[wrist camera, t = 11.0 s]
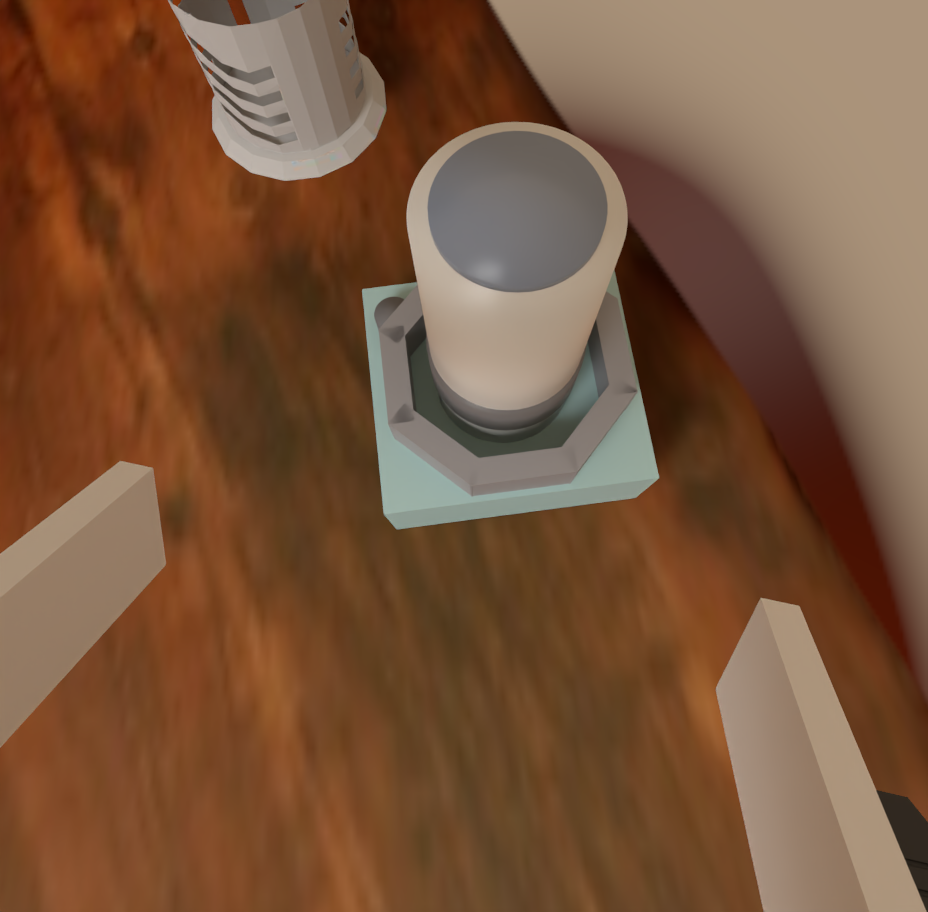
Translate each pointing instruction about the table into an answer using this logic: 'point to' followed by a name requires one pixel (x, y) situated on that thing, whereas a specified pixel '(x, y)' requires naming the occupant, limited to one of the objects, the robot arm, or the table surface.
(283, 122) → the french press
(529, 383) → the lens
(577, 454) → the body block
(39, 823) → the table surface
